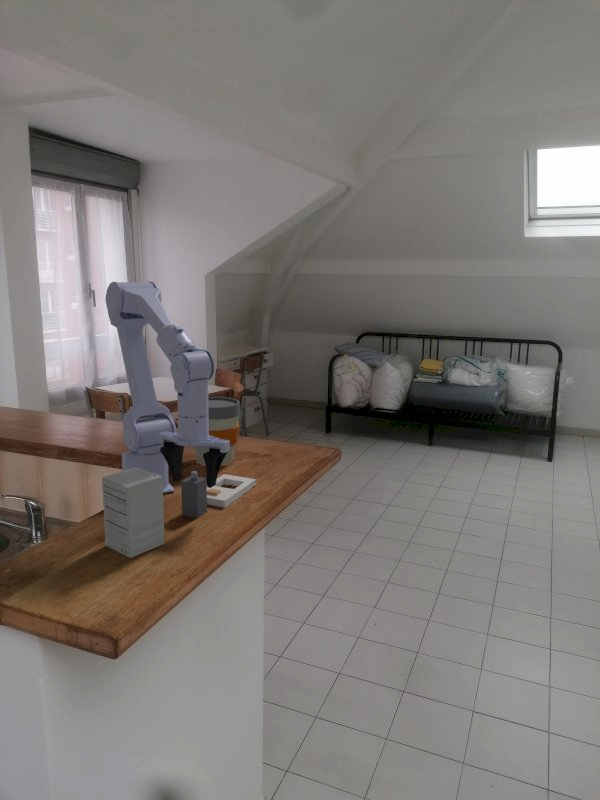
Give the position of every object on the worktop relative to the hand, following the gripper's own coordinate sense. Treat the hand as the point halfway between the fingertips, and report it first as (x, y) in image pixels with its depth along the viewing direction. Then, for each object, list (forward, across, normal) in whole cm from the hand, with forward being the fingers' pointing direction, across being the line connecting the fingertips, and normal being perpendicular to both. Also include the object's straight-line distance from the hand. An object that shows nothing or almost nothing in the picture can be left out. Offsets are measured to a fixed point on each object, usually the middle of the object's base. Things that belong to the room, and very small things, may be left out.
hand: (194, 483), depth 121 cm
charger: (+6, 0, 0) cm, 6 cm away
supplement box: (+6, -2, -16) cm, 18 cm away
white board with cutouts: (+6, 0, +12) cm, 14 cm away
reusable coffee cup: (+6, -13, +30) cm, 33 cm away
